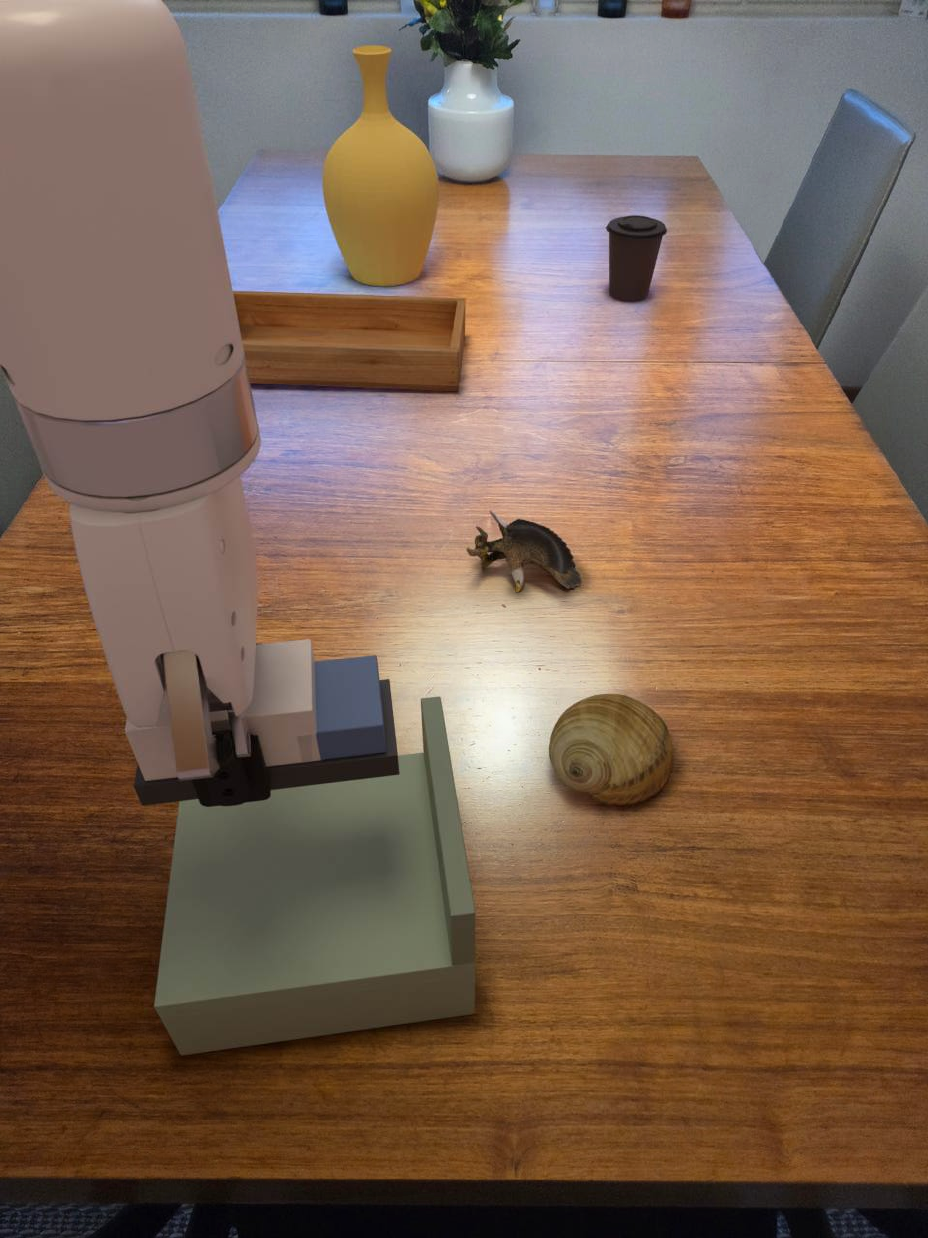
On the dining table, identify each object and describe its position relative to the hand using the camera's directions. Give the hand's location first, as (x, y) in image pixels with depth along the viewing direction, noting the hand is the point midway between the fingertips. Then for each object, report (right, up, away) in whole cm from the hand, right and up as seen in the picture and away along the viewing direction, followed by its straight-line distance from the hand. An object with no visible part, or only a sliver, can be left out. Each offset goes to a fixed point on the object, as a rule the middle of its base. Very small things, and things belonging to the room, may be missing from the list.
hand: (239, 747), depth 42 cm
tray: (-5, +38, +65) cm, 75 cm away
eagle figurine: (+16, +10, +34) cm, 39 cm away
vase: (-1, +57, +86) cm, 104 cm away
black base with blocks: (+2, 0, 0) cm, 2 cm away
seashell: (+21, -4, +19) cm, 29 cm away
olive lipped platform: (+3, -12, +10) cm, 16 cm away
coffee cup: (+34, +52, +80) cm, 101 cm away
